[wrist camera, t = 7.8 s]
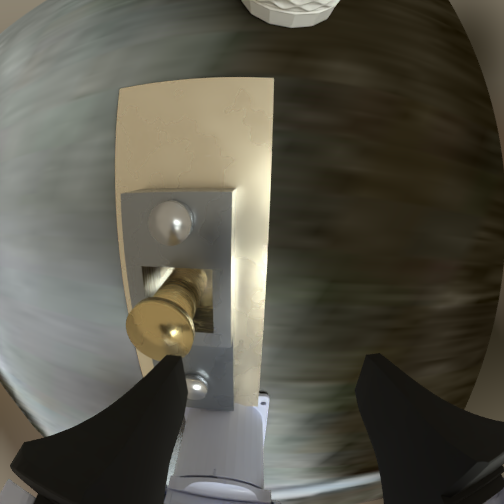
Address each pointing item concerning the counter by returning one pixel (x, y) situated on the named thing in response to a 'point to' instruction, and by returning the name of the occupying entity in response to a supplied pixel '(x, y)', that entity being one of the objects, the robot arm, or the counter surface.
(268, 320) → the counter surface
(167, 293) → the brass knob
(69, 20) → the counter surface
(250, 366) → the door lock with knob
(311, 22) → the white cup
